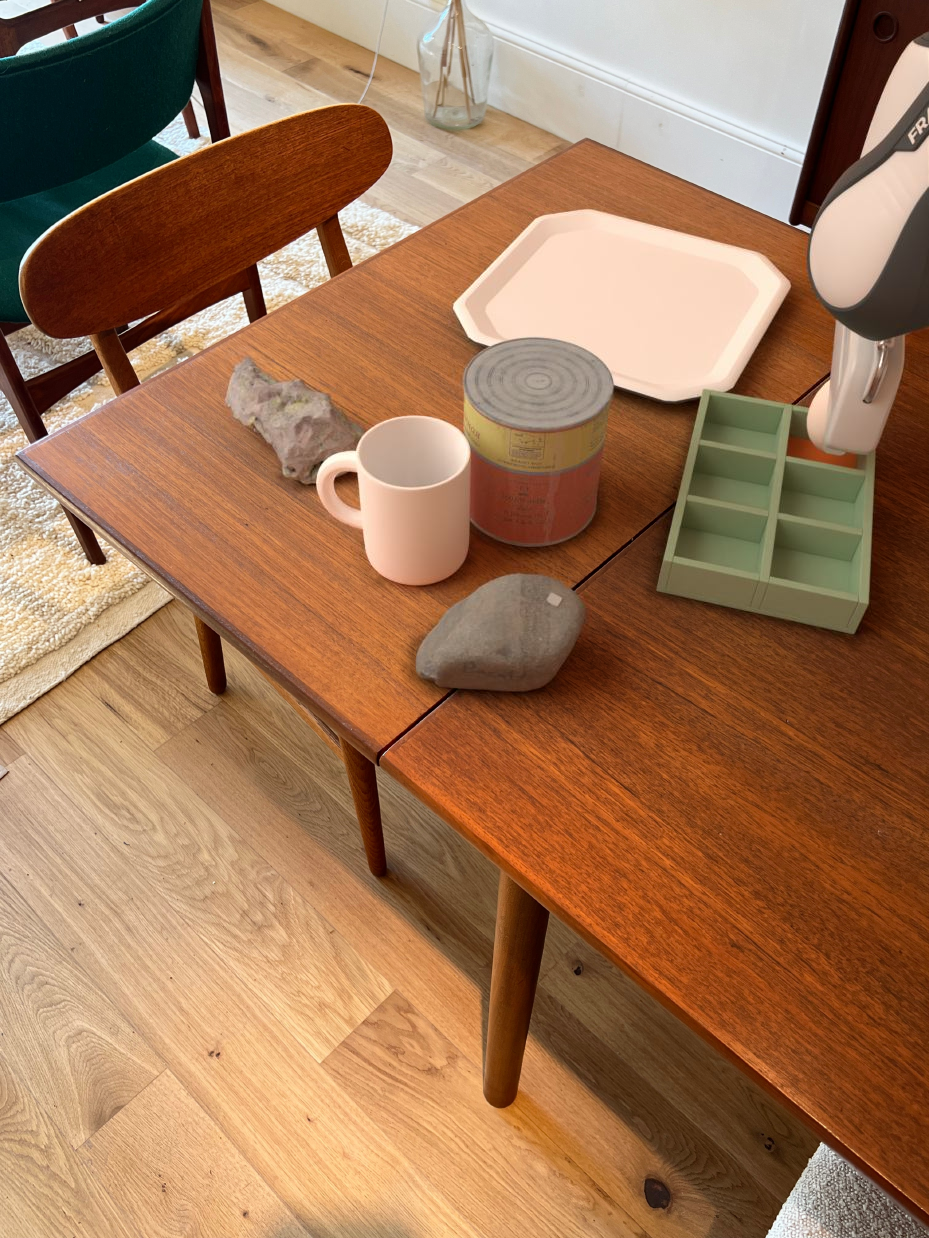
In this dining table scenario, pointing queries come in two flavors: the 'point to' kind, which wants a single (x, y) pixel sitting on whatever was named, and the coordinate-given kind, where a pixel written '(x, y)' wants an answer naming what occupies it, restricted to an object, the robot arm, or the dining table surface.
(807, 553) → the carton
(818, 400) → the egg
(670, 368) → the plate
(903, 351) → the robot arm
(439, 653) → the stone
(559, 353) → the canned food
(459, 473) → the mug
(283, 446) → the rock
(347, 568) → the dining table surface
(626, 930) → the dining table surface
